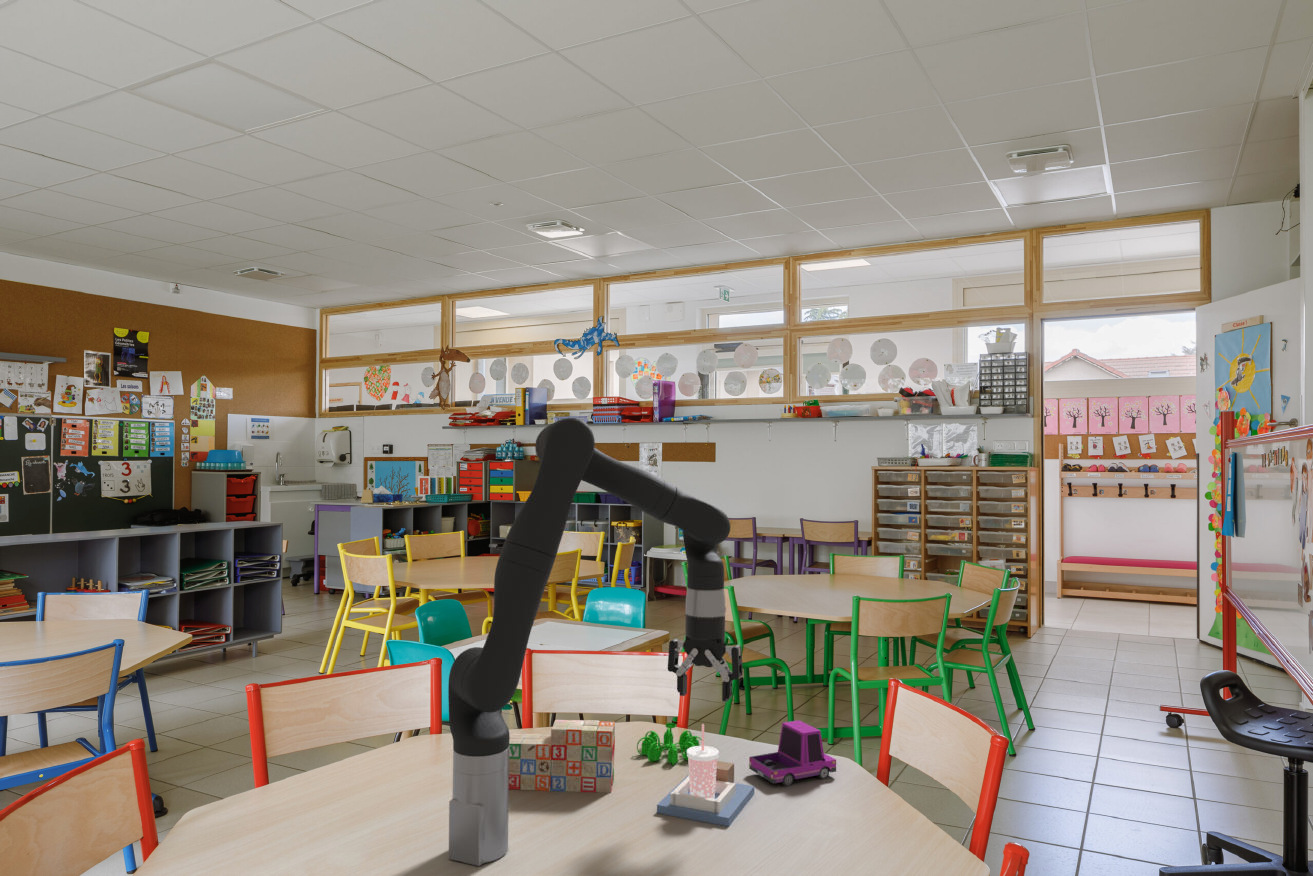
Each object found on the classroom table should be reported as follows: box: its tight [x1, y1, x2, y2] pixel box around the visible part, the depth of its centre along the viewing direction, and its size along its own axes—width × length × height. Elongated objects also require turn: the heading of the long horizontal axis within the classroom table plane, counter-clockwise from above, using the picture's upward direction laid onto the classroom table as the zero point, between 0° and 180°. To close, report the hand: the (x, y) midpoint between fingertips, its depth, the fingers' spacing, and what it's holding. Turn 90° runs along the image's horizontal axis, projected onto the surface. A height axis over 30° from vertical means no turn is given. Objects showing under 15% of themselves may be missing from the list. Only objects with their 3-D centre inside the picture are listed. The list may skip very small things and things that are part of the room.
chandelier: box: [636, 722, 702, 766], centre depth 186 cm, size 15×15×7 cm
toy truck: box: [748, 719, 837, 787], centre depth 174 cm, size 11×16×10 cm
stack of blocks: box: [509, 719, 616, 794], centre depth 168 cm, size 21×6×12 cm, turn 87°
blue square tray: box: [656, 760, 755, 827], centre depth 160 cm, size 16×14×6 cm
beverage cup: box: [687, 723, 720, 799], centre depth 158 cm, size 6×6×14 cm
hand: (704, 697), depth 158 cm, fingers open, 8 cm apart
